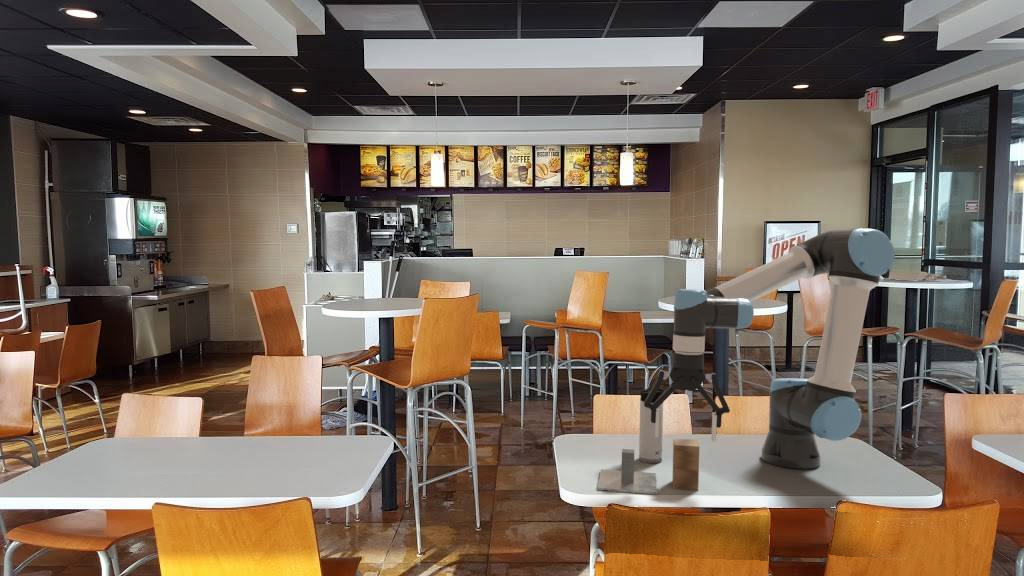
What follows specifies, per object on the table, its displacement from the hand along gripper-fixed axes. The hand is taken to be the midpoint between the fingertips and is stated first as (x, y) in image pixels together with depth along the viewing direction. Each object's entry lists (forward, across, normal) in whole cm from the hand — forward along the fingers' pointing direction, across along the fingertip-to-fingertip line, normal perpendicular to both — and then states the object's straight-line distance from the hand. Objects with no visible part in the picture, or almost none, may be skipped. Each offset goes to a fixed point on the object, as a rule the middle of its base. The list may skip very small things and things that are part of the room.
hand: (684, 438), depth 165 cm
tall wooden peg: (+12, 0, 0) cm, 12 cm away
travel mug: (+12, +8, -19) cm, 24 cm away
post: (+12, +14, +1) cm, 18 cm away
